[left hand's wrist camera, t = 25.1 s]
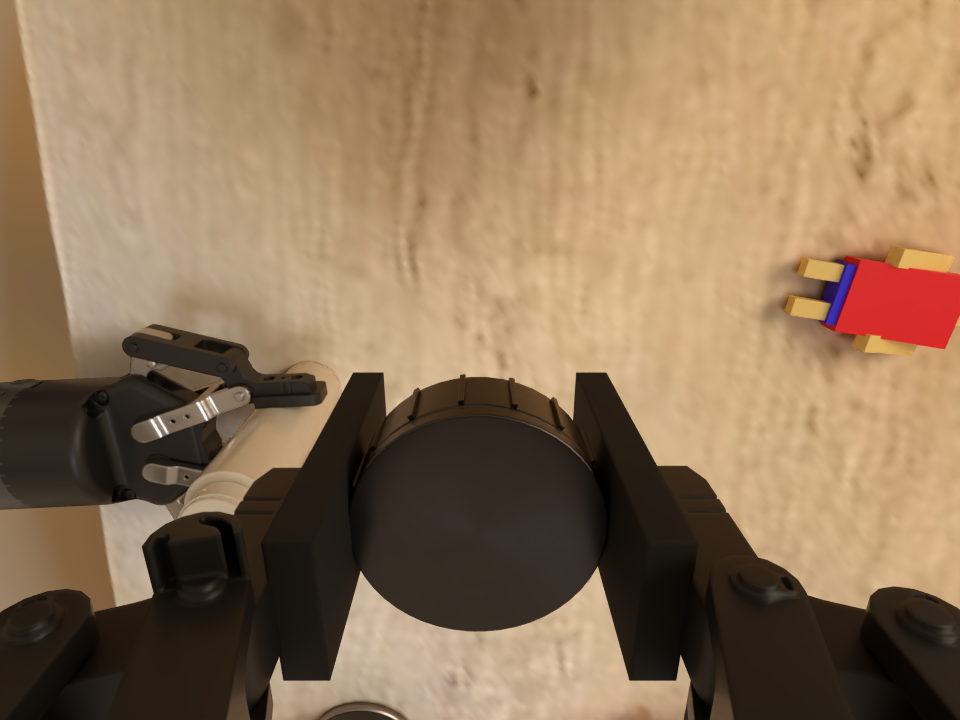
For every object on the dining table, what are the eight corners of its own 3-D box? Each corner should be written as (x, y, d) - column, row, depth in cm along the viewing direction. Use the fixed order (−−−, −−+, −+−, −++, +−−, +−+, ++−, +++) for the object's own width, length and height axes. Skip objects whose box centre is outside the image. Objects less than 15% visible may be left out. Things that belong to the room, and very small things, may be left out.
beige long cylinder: (340, 362, 40) (260, 491, 25) (342, 417, 41) (268, 571, 26) (279, 360, 40) (160, 489, 24) (283, 415, 41) (173, 569, 26)
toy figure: (788, 339, 38) (966, 368, 38) (824, 235, 36) (1013, 266, 36) (771, 329, 40) (939, 356, 40) (804, 231, 38) (982, 260, 38)
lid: (558, 342, 11) (572, 377, 10) (616, 540, 13) (637, 599, 11) (325, 413, 12) (300, 458, 10) (410, 594, 13) (401, 658, 12)
